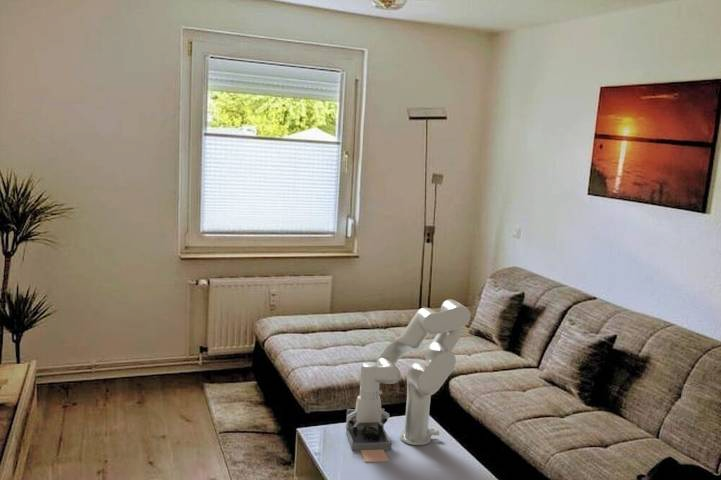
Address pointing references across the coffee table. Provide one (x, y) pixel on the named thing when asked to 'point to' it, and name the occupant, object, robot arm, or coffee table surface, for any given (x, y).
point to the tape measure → (371, 433)
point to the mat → (374, 455)
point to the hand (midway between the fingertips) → (367, 434)
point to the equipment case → (359, 432)
